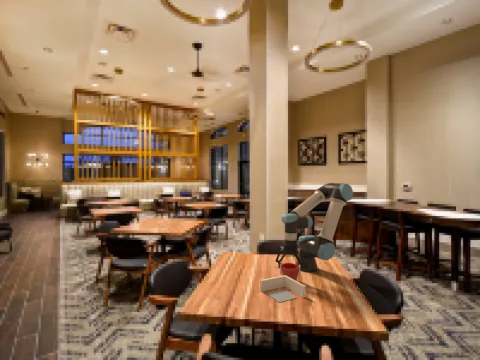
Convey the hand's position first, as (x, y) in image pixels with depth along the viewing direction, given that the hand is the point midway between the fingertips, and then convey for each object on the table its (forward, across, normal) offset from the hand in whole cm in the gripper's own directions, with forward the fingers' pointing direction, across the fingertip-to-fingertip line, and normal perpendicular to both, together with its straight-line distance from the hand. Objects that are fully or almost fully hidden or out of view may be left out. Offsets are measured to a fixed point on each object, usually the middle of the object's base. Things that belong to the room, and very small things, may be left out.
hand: (290, 274), depth 162 cm
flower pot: (+4, 0, 0) cm, 4 cm away
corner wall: (+4, -2, -19) cm, 20 cm away
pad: (+4, -2, -22) cm, 22 cm away
